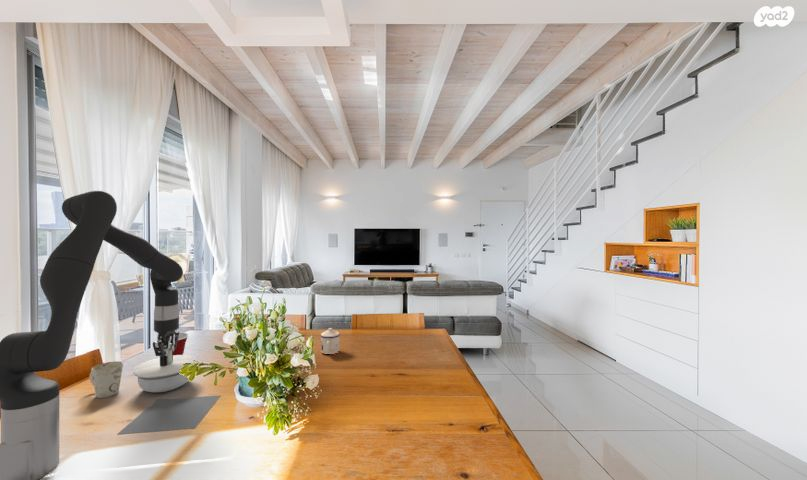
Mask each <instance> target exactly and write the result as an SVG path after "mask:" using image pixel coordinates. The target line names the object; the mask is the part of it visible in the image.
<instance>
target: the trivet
mask: <svg viewBox="0 0 807 480" xmlns="http://www.w3.org/2000/svg"><path fill="white" fill-rule="evenodd" d="M220 398H221V395H209V396H208V395H207V396H204V395H203V396H192V397H191V396H190V397H178V398H177V397H176V398H163V399H162V398H161V399H160V398H159V399H158V398H157V399H156V400H155V401H153V403H151V405H149V406H148V407H147V408H145V409H144V410H143V411H142V412H141V413H140V414H139V415H138V416H136V417H135V418H134V419H133V420H132V421H130V422H129V423H128V424H127V425H126V426H125V427H123V428H122V429H121V430H120V431H119V432H117V433H116V435H129V434H141V433H142V434H143V433H155V432H168V431H179V430H191V429H192V430H193V429H196V428H197V427H198V425H200V423H201V422H202V420H203V419H204V418H205V417H206V415H207V414H208V412H210V410H211V409H212V408H213V406H215V404H216V403H217V401H218V400H219V399H220Z"/></svg>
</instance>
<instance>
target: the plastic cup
mask: <svg viewBox="0 0 807 480" xmlns="http://www.w3.org/2000/svg"><path fill="white" fill-rule="evenodd" d="M178 332H179V331H178ZM189 335H190V334H189V333H187V332H184V331H180V332H179V337H178V342H177V347H176V348H174V351H173V355H184V352H185V348H186V342H187V339H188V338H189ZM163 347H164V346H163ZM164 350H165V349H164Z"/></svg>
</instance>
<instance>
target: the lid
mask: <svg viewBox="0 0 807 480" xmlns="http://www.w3.org/2000/svg"><path fill="white" fill-rule="evenodd" d="M164 351H165V350H164ZM167 355H168V364H167V366H160V357H157V358H153V359H150V360H146V361H143V362H141V363H139V364H138V365H136V366H134V368H133V370H132V371H133V376H135V377H137V378H138V377H143V378H153V377H162V376H168V375H172V374H176V373H180V369H181V367H182V366H183V364H185V363H191V364H194V363H195V362H194V361H193V360H195V361H196V362H197V363H198V358H197V357H196V356H194V355H190V354H183V355H173V361H172V349H168V354H167Z"/></svg>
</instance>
